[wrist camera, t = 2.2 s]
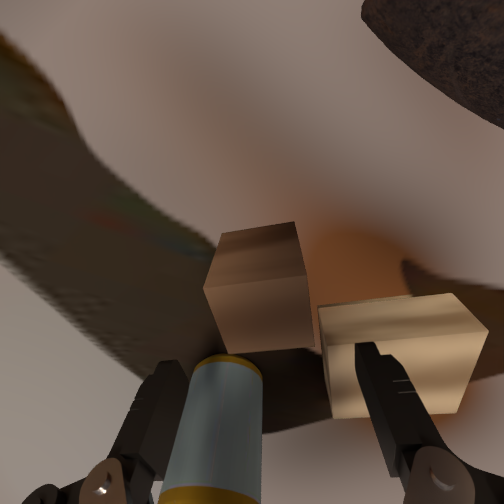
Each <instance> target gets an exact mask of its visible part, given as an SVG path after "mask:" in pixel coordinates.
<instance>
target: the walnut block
mask: <svg viewBox="0 0 504 504" xmlns="http://www.w3.org/2000/svg"><path fill="white" fill-rule="evenodd" d="M203 290H204V292H205V295H206V298H207V300H208V303H209V305H210V308H211V310H212V313H213V316H214V318H215V321H216V323H217V326H218V328H219V331H220V334H221V336H222V339H223V341H224V344H225V346H226V349H227V352H228V354H236V353H247V352H258V351H270V350H281V349H292V348H303V347H315V343H314V334H313V326H312V316H311V308H310V299H309V290H308V282H307V274H306V269H305V265H304V261H303V257H302V252H301V248H300V244H299V240H298V235H297V231H296V227H295V222H294V221H293V222H287V223H281V224H275V225H269V226H263V227H256V228H250V229H244V230H238V231H232V232H226V233H222V235H221V238H220V241H219V243H218V246H217V249H216V252H215V255H214V258H213V261H212V264H211V267H210V270H209V273H208V275H207V278H206V281H205V284H204V287H203Z"/></svg>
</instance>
